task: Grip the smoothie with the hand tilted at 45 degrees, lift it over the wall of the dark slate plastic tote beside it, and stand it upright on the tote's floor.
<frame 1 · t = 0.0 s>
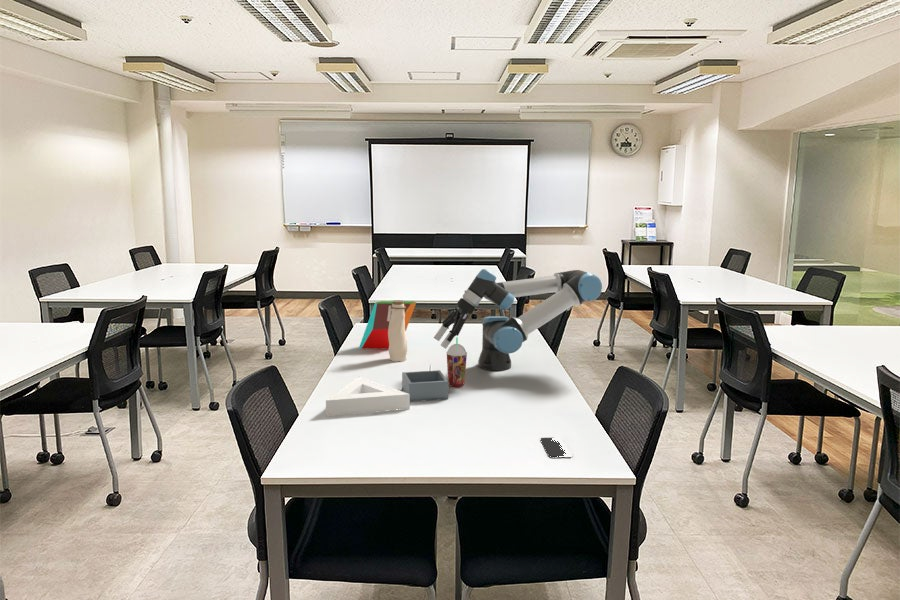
hand: (439, 343, 266), 15 cm above the table, tool tilted 35°, fingers open, 13 cm apart
phone: (556, 449, 197), on the table
smoothie: (456, 385, 260), on the table
tote: (424, 394, 248), on the table
triangle block: (363, 403, 239), on the table
gem: (387, 347, 321), on the table
water bottle: (396, 359, 298), on the table
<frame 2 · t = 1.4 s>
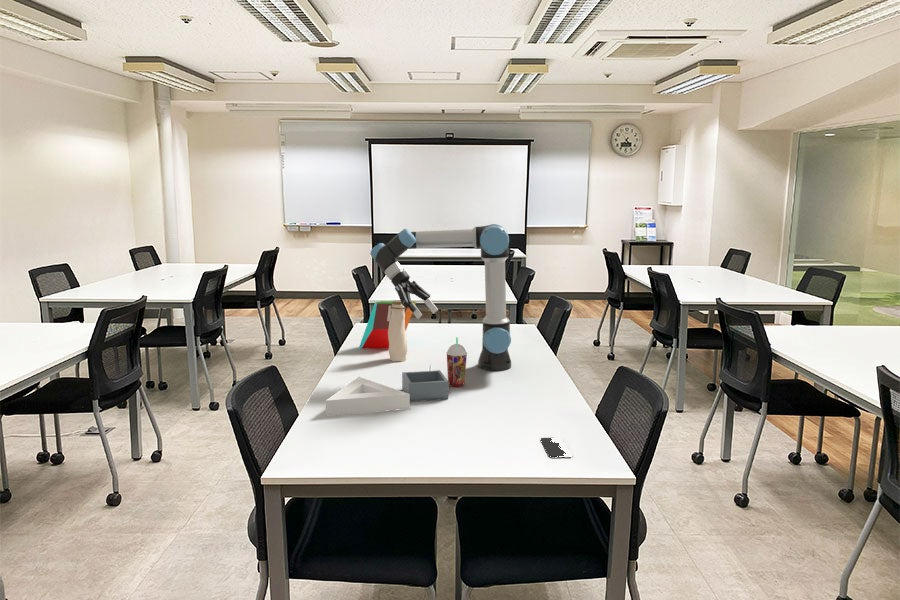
hand: (428, 314, 263), 28 cm above the table, tool tilted 45°, fingers open, 13 cm apart
nothing on the table moved.
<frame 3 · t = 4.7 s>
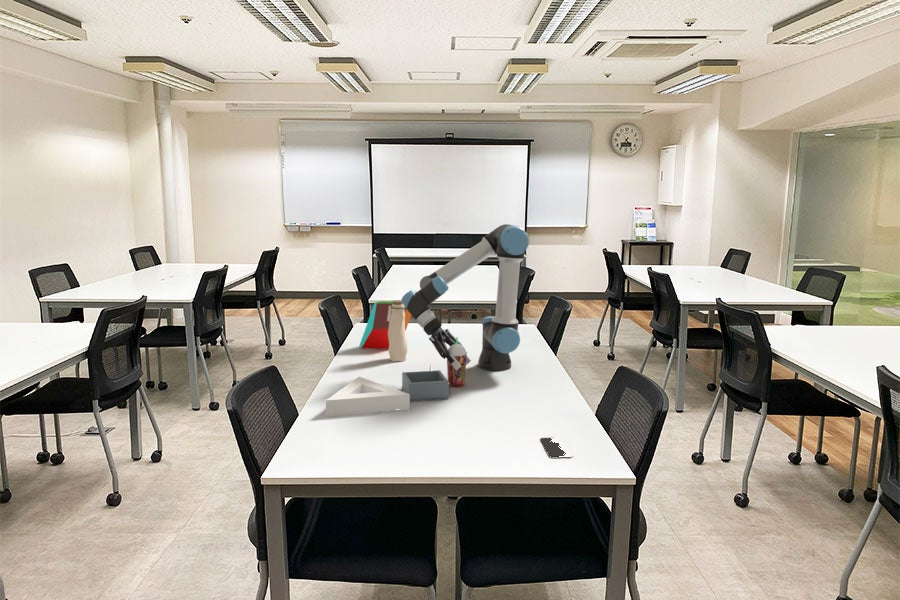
hand: (463, 365, 257), 9 cm above the table, tool tilted 45°, fingers closed on smoothie, 8 cm apart
smoothie: (456, 385, 260), on the table, touching gripper
everything else where it was.
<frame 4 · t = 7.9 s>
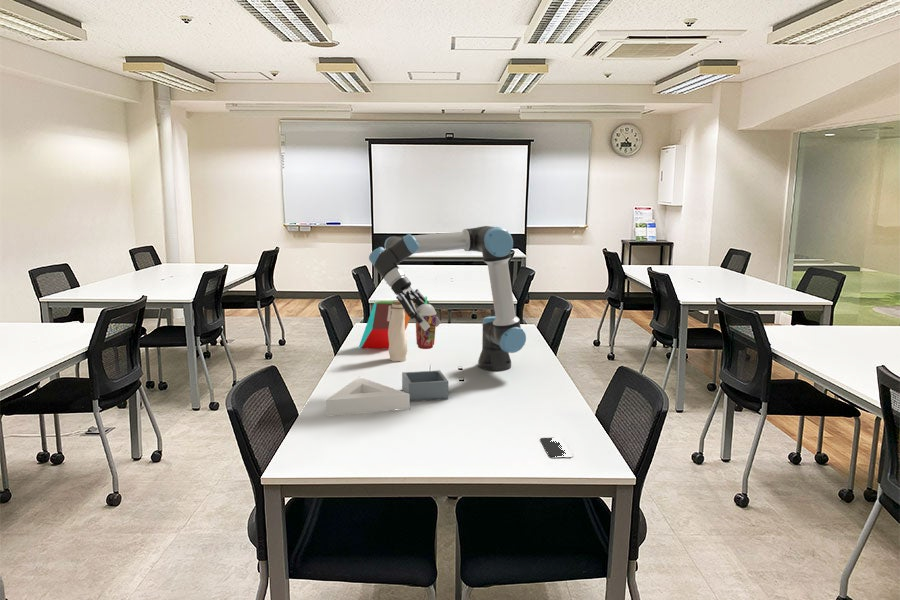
hand: (433, 326, 242), 27 cm above the table, tool tilted 45°, fingers closed on smoothie, 8 cm apart
smoothie: (425, 347, 245), point 18 cm above the table, touching gripper
everything else where it was.
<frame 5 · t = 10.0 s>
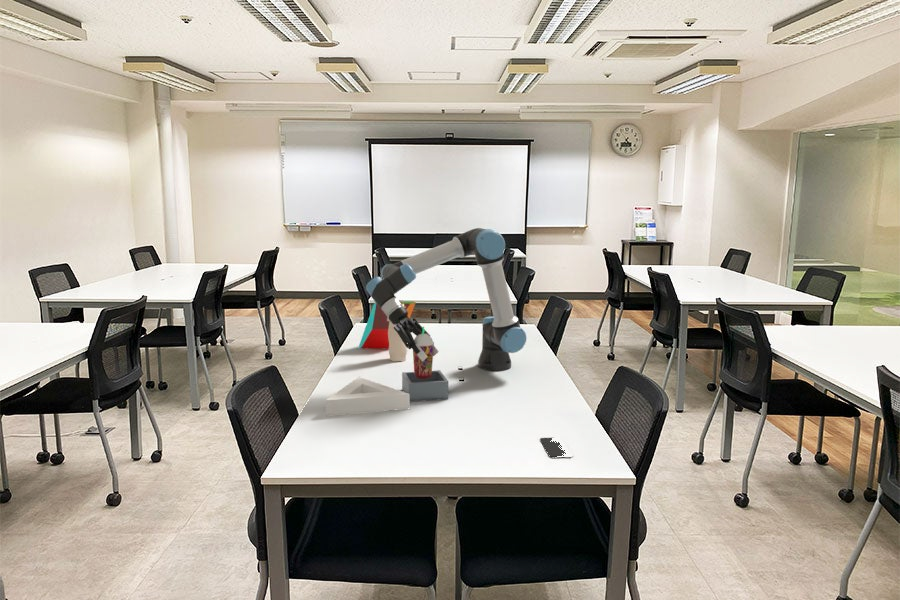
hand: (430, 356, 243), 16 cm above the table, tool tilted 45°, fingers closed on smoothie, 8 cm apart
smoothie: (422, 377, 246), point 7 cm above the table, touching gripper
everything else where it was.
when the fingers open (11 cm above the table, at t = 11.4 s): smoothie drops 1 cm, resting on tote.
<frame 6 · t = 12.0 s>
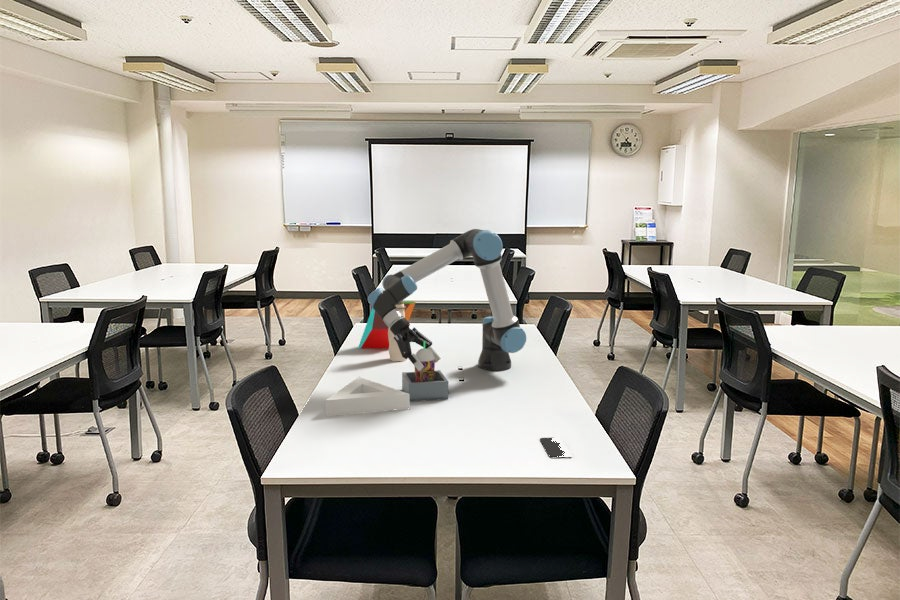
hand: (430, 364, 245), 12 cm above the table, tool tilted 45°, fingers open, 13 cm apart
smoothie: (424, 391, 248), point 1 cm above the table, touching tote
everything else where it was.
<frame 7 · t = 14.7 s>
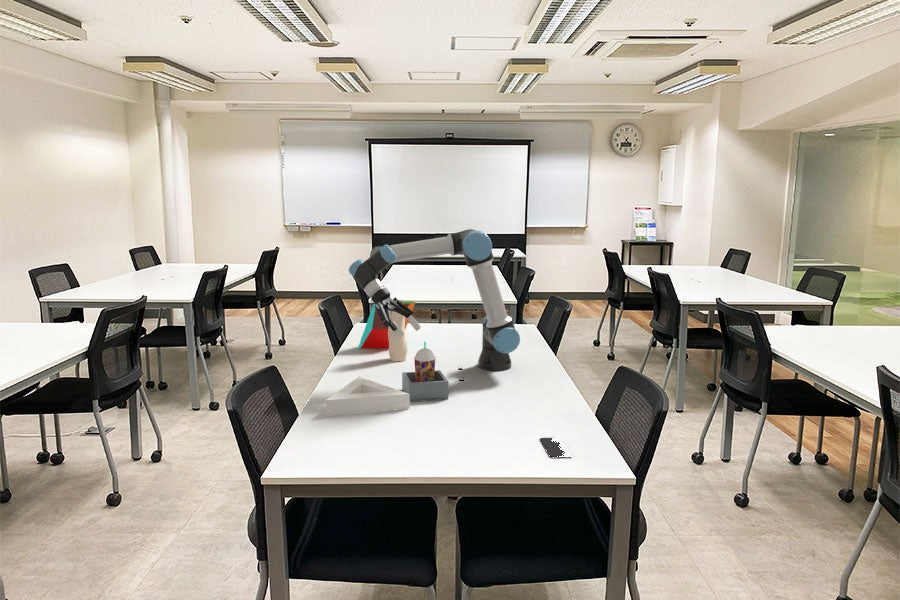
hand: (410, 332, 251), 23 cm above the table, tool tilted 45°, fingers open, 13 cm apart
nothing on the table moved.
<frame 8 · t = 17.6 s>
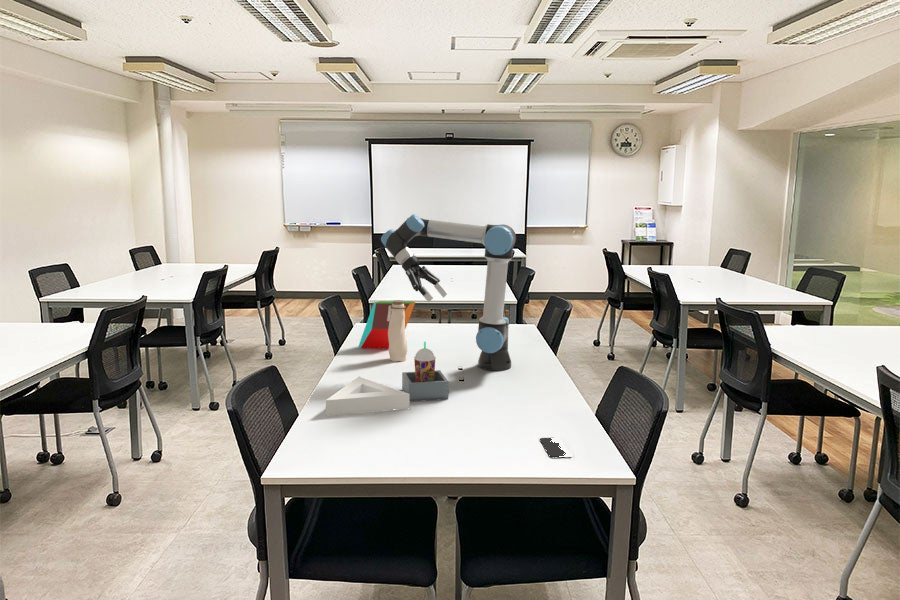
hand: (438, 297, 269), 34 cm above the table, tool tilted 45°, fingers open, 13 cm apart
nothing on the table moved.
at the end: smoothie inside the target area on the tote (0.1 cm from its centre), point 0.8 cm above the tote's base; smoothie tilted 0°; the gripper is holding nothing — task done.
